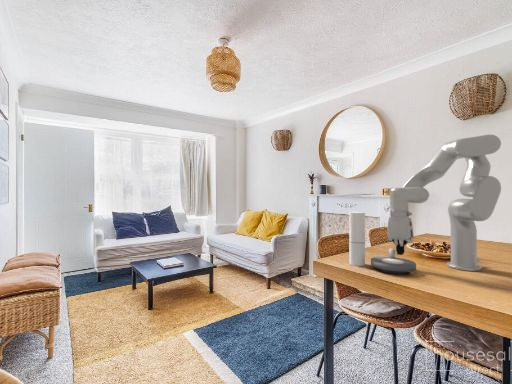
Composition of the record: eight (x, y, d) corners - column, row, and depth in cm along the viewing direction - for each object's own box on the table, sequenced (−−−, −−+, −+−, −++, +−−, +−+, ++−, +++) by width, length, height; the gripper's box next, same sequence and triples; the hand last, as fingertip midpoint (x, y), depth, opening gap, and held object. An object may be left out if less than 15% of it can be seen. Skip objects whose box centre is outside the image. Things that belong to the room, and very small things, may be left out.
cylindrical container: (362, 262, 133) (362, 211, 134) (367, 266, 126) (366, 212, 126) (347, 262, 134) (347, 211, 134) (351, 265, 127) (351, 212, 127)
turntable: (371, 259, 132) (371, 247, 132) (413, 263, 125) (413, 250, 125) (369, 268, 116) (369, 254, 116) (418, 273, 108) (418, 258, 108)
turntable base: (390, 265, 128) (390, 261, 128) (414, 271, 117) (414, 268, 117) (372, 268, 123) (372, 264, 123) (395, 275, 112) (395, 271, 112)
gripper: (420, 214, 121) (421, 255, 121) (386, 213, 133) (387, 250, 133) (413, 215, 116) (414, 258, 116) (379, 214, 128) (380, 253, 128)
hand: (400, 254), depth 124 cm, fingers closed
